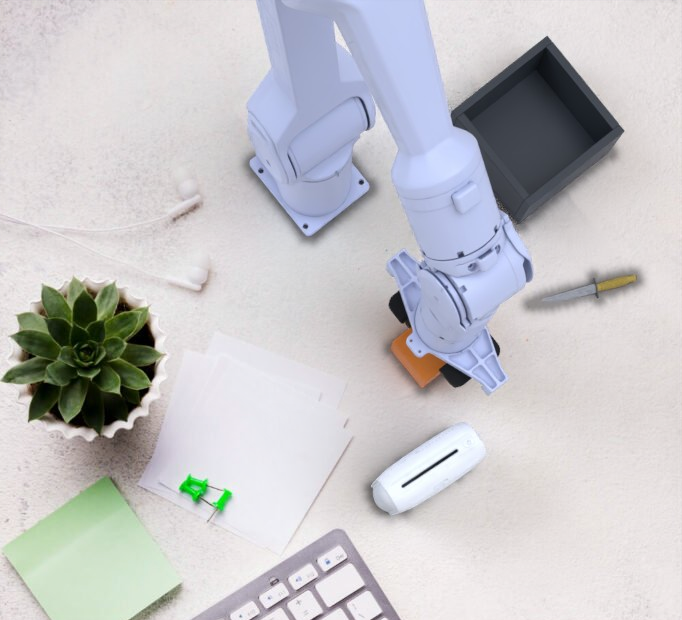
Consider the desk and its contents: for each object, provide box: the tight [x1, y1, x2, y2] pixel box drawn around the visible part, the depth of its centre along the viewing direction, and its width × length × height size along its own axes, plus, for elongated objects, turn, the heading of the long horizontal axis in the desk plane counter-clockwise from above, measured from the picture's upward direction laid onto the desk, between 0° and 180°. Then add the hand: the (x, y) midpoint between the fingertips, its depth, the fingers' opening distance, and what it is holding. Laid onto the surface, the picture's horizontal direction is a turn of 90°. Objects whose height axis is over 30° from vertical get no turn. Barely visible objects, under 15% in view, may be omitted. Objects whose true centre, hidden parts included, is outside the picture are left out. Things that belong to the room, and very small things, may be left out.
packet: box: [390, 327, 446, 389], centre depth 82 cm, size 5×7×4 cm
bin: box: [450, 35, 625, 225], centre depth 82 cm, size 12×12×5 cm
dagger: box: [540, 273, 638, 303], centre depth 84 cm, size 11×1×2 cm
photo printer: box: [370, 421, 487, 516], centre depth 78 cm, size 10×4×12 cm, turn 123°
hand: (434, 343), depth 83 cm, fingers closed on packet, 5 cm apart
